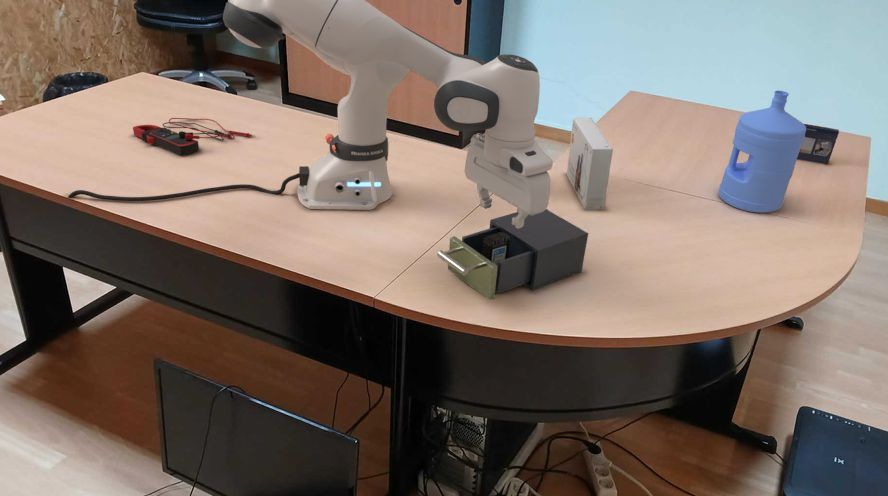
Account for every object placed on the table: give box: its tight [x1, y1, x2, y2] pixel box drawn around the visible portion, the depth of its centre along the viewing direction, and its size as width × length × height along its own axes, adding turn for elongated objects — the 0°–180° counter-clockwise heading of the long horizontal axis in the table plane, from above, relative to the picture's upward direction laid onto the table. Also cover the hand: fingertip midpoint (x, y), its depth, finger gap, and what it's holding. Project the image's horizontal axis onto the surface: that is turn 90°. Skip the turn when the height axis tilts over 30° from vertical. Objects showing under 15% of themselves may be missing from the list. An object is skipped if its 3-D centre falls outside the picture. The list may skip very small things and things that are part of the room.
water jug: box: [718, 90, 806, 214], centre depth 180 cm, size 16×16×28 cm
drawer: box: [436, 227, 535, 301], centre depth 143 cm, size 17×13×7 cm
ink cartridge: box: [482, 232, 510, 270], centre depth 143 cm, size 5×2×8 cm, turn 125°
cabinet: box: [488, 208, 589, 291], centre depth 150 cm, size 14×15×9 cm
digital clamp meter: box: [132, 117, 257, 157], centre depth 199 cm, size 23×4×25 cm
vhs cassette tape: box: [797, 123, 840, 165], centre depth 213 cm, size 18×3×10 cm, turn 68°
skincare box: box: [566, 116, 614, 211], centre depth 182 cm, size 21×5×16 cm, turn 5°
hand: (501, 216), depth 140 cm, fingers open, 8 cm apart
